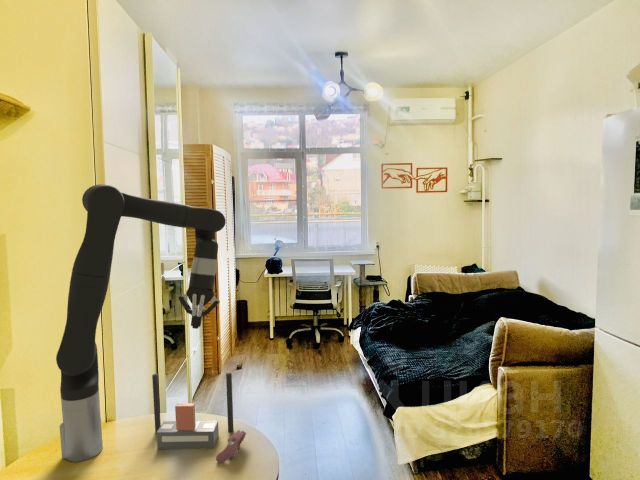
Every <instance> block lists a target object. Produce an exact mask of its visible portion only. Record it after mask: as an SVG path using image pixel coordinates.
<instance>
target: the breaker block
mask: <svg viewBox="0 0 640 480" xmlns="http://www.w3.org/2000/svg"><path fill="white" fill-rule="evenodd" d="M161 423H162V424H161V426H160V428H159V429H158V431H157V432H156V433H155V434H156V446H157V447H156V449H157V450H169V449H170V450H174V449H175V450H184V449H187V450H189V449H195V450H196V449H215V447H216V444H217V441H218V440H219V437H220V435H219V420H195V424H196V427H195V429H194V430H176V420H172V421H171V420H167V421H165V420H164V421H162V422H161ZM217 439H218V440H217Z"/></svg>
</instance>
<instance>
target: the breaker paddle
mask: <svg viewBox="0 0 640 480" xmlns="http://www.w3.org/2000/svg"><path fill="white" fill-rule="evenodd" d="M195 405H196V404H195V402H193V403H189V402H188V403H186V402H185V403H176V405H175V406H174V407H175V409H174V410H175V411H174V412H175V413H174V414H175V421H176V430H194V429H195V427H196V424H195V421H196V408H195V407H196V406H195Z"/></svg>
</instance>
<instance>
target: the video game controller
mask: <svg viewBox="0 0 640 480" xmlns="http://www.w3.org/2000/svg"><path fill="white" fill-rule="evenodd" d="M246 435H247V432H246V431H244V430H241V429H238V430H237V431H236V432H235V433H233V434H232V435H231V436H230V437H229V438H228V440H227V445H226V447H224V449H223V450H222V451H220V452H219V453H217V455H216V457H215V460H216V462H217V463H224V462H226V461H228V460H229V459H233V457H234V455H237V454H238V453H239V450H240V448H241V447H240V446H241V444H242V442H244V440H245V438H246Z"/></svg>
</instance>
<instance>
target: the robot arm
mask: <svg viewBox="0 0 640 480" xmlns="http://www.w3.org/2000/svg"><path fill="white" fill-rule="evenodd" d="M81 201H82V205H83V208H84V210H86V212H87V214H86V216H87V217H86V224H85V225H86V226H85V233H84V236H83V239H82V242H81V245H80V247H79V249H78V251H77V254H76V256H75V259H74V262H73V265H72V266H73V267H72V268H71V269H72V270H71V276H70V281H69V288H68V296H67V307H66V312H67V313H66V321H65V322H66V323H65V327H64V331H63V335H62V339H61V341H60V345H59V348H58V350H57V353H56V358H55V361H56V365H57V367H58V369H59V370H60V390H59V391H60V404H61V417H62V422H61V423H60V425H59V437H60V449H61V458H62V460H63V459H64V460H67V461H69V462H74V463H76V462H83V461H87V460H90V459H93V458H95V457H96V456H97V455H99V454H100V453H101V452H102V450H103V448H104V447H103V435H102V434H103V430H102V417H101V416H102V415H101V400H100V390H99V389H100V387H99V386H100V385H99V375H100V373H99V356H98V346H97V343H96V333H97V327H98V323H99V318H100V316H101V312H102V309H103V307H104V303H105V300H106V296H107V292H108V289H109V284H110V277H111V272H112V264H113V263H112V262H113V257H114V256H113V255H114V247H115V241H116V240H115V239H116V235H117V232H118V228H119V225H120V221H121V218H122V217H123V218H135V219H138V220H144V221H149V222H153V223H157V224H160V225H165V226H170V227H176V228H184V229H191V228H192V229H194V234H195V235H194V236H195V248H194V254H193V259H192V263H191V268H190V275H189V283H188V288H187V290H186V291H185V293H184V294H182V295H180V296H179V297H178V300H179V302H180V304H181V305H182V307H183V309H184V310H185V312H186V314H189V315H190V316H191V319H190V326H191V327H192V329H199V328H200V327H201V326H202V321H203V316H208V315H209V314H210V313H211V312H212V311H213V310H214V309H215V308H216V307H217V306H218V305H219V304H220V300H219V299H217V297H216V296H215V293H214V289H215V288H214V287H215V279H216V274H217V258H218V251H219V243H218V242H217V241H216V233H217V232H220V231H221V230H223V229H224V228H225V226H226V217H225V215H224V213H222V211H220V210H217V209H213V208H206V207H198V206H197V207H196V206H191V205H188V204H184V203H183V204H182V203H180V202H179V203H178V202H173V201H167V200H160V199H153V198H145V197H140V196H136V195H131V194H128V193H125V192H122V191H120V190H119V189H118V188H117V187H115V186H113V185H109V184H95V185H92V186H89V188H87V189H86V190H84V193H83V194H82V198H81ZM188 300H189V301H190V303H191V305H190V304H189V302H188ZM210 301H211V302H210ZM209 302H210V303H211V304H210V306H208V307H207V309H205V306H206V305H207V304H209Z"/></svg>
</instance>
